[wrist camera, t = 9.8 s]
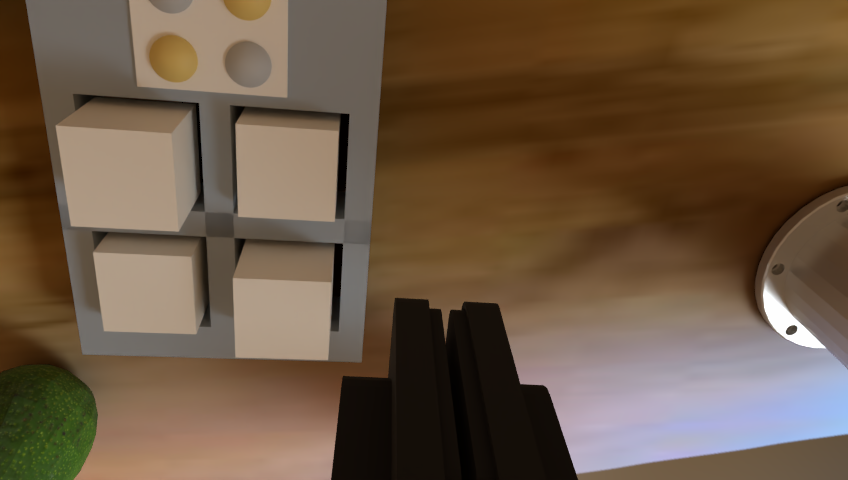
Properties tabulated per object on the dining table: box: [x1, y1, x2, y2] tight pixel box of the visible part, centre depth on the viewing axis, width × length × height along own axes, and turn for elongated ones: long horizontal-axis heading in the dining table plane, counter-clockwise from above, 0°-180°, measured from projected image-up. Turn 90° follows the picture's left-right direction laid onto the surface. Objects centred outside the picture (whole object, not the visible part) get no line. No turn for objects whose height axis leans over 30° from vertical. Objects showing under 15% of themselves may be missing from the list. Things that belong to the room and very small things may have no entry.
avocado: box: [0, 364, 98, 480], centre depth 39 cm, size 8×8×12 cm
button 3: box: [235, 106, 341, 222], centre depth 36 cm, size 5×5×5 cm
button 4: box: [233, 239, 335, 360], centre depth 37 cm, size 5×5×5 cm
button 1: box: [56, 97, 201, 232], centre depth 33 cm, size 5×5×5 cm
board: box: [26, 0, 387, 362], centre depth 37 cm, size 16×23×4 cm
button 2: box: [93, 232, 210, 334], centre depth 38 cm, size 5×5×5 cm
